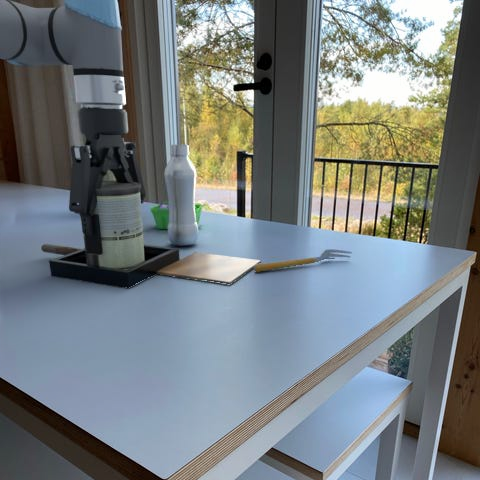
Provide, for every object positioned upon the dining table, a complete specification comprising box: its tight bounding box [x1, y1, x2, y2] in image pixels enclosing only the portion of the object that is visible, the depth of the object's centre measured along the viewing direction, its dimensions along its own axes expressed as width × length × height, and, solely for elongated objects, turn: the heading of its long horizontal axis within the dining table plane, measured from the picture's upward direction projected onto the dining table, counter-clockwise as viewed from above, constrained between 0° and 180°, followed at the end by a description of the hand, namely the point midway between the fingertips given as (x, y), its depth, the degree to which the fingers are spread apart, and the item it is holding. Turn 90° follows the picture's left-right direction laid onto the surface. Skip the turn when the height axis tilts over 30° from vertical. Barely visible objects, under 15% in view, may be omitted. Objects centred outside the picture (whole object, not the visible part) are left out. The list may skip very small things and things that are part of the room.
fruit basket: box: [149, 192, 204, 230], centre depth 115 cm, size 11×9×11 cm
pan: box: [40, 243, 180, 289], centre depth 86 cm, size 25×16×3 cm, turn 67°
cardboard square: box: [156, 251, 262, 284], centre depth 85 cm, size 14×14×1 cm
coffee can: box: [82, 181, 145, 270], centre depth 82 cm, size 10×10×14 cm
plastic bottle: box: [163, 144, 200, 247], centre depth 97 cm, size 6×7×20 cm
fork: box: [253, 248, 353, 273], centre depth 87 cm, size 2×2×20 cm
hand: (114, 246), depth 83 cm, fingers closed on coffee can, 10 cm apart
